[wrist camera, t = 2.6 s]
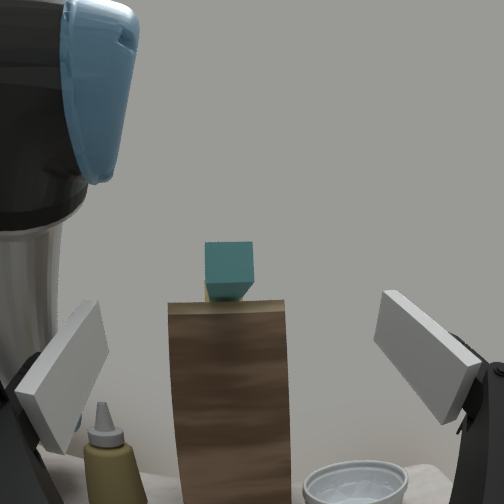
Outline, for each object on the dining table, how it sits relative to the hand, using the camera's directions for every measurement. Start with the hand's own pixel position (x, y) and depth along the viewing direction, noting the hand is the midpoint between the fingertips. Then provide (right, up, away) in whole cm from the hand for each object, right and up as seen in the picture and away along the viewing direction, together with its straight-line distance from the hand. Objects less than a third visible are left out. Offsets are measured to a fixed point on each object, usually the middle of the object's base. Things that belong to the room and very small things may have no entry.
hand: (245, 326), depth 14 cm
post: (-2, -32, +17) cm, 37 cm away
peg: (-2, -2, +20) cm, 20 cm away
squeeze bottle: (-17, -33, +14) cm, 39 cm away
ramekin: (+13, -31, +14) cm, 37 cm away
